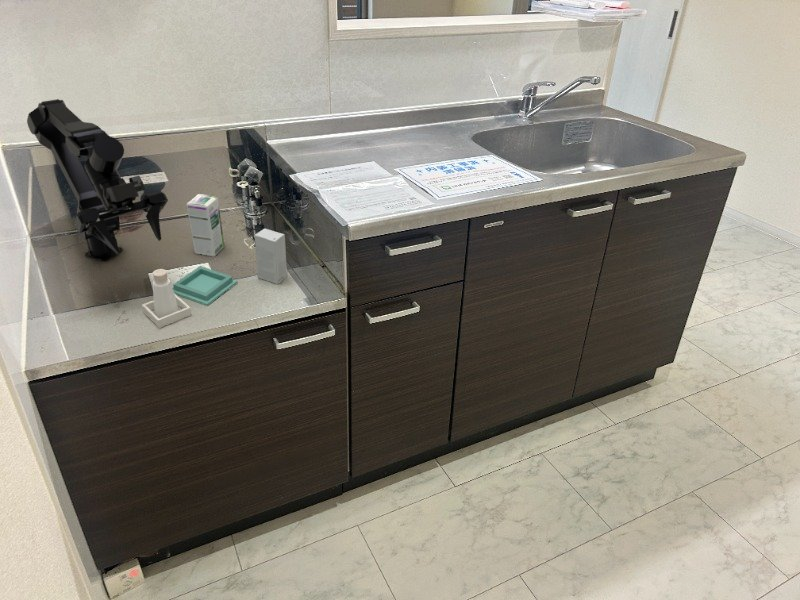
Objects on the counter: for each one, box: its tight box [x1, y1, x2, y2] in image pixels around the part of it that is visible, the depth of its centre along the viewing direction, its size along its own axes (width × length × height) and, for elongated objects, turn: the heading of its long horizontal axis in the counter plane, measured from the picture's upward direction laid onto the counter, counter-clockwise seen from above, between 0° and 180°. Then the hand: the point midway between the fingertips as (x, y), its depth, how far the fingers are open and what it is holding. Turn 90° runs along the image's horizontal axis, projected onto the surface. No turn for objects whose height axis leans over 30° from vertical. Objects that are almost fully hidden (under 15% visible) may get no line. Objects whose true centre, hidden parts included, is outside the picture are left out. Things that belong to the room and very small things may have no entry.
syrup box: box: [186, 193, 225, 258], centre depth 153 cm, size 6×6×14 cm
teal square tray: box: [172, 265, 238, 307], centre depth 142 cm, size 11×11×2 cm
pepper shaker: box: [152, 268, 180, 318], centre depth 131 cm, size 5×5×11 cm
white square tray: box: [141, 293, 192, 329], centre depth 133 cm, size 8×8×2 cm
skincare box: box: [253, 228, 288, 285], centre depth 145 cm, size 6×4×12 cm
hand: (139, 246), depth 130 cm, fingers open, 9 cm apart
